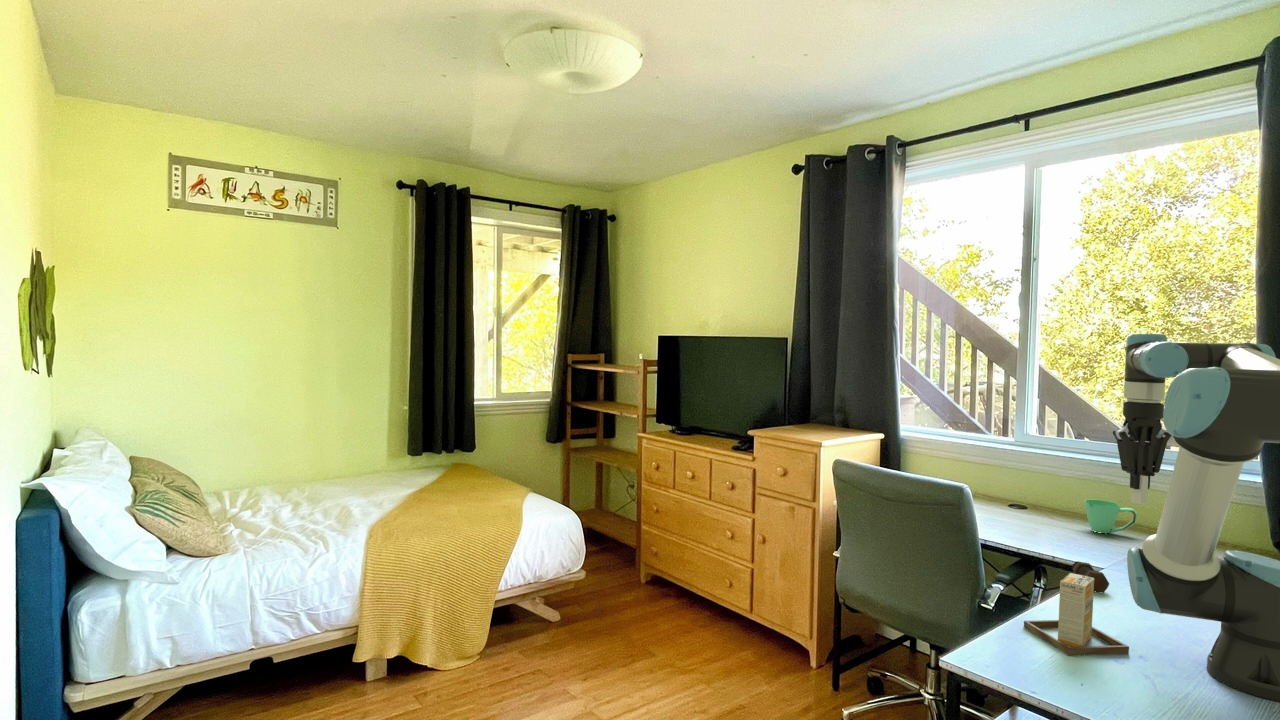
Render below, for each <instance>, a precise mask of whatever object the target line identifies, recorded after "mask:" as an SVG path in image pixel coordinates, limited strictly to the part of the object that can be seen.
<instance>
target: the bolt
mask: <svg viewBox="0 0 1280 720" xmlns="http://www.w3.org/2000/svg"><path fill="white" fill-rule="evenodd" d="M1072 572H1073V574H1078V575H1083V576H1087V577H1092V578H1094V591H1096V592H1095V593H1098V592H1103V593H1105V592H1106V590H1107V589H1108V588H1109V586H1110V583H1109V581H1108V579H1107V577H1106V575H1105V574H1104V573H1103V572H1102V571H1095V570H1094V568H1093V567H1092V565H1091V564H1090V563H1088V562H1082V561H1074V563H1072Z"/></svg>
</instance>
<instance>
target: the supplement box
mask: <svg viewBox="0 0 1280 720" xmlns="http://www.w3.org/2000/svg"><path fill="white" fill-rule="evenodd" d="M1094 594H1095V592H1094V578H1092V577H1087V576H1083V575H1078V574H1075V573H1074V572H1073V573H1072V572H1070V573H1068V574H1067V575H1065V577H1063V578H1062V579H1061V580H1060V581H1059V603H1058V605H1059V606H1058V620H1059V623H1058V628H1057V640H1059V641H1061V642H1062V643H1064V644H1065V645H1067V646H1069V647H1085V646H1086V644H1087V643H1088V642H1089V640H1090V639H1092V635H1091V634H1092V627H1093V613H1094V612H1093V611H1094Z"/></svg>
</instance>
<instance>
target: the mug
mask: <svg viewBox="0 0 1280 720" xmlns="http://www.w3.org/2000/svg"><path fill="white" fill-rule="evenodd" d="M1084 507H1085V511H1086V516H1087V521H1088V523H1089V526H1090V529H1091V531H1092V530H1094V531H1096V532H1101V533H1109V534H1110V533H1116V532H1121V531H1125V530H1127V529H1128V528H1130V527H1132V526H1133V525H1135V524H1136V522H1137V518H1138V514H1139V513H1138V512H1137V511H1136V510H1135V509H1134V508H1131V507H1121V506H1120V503H1117V502H1114V501H1109V500H1103V499H1102V500H1101V499H1092V498H1091V499H1090V498H1089V499H1085V500H1084ZM1125 512H1126V513H1132V520H1130V521H1129V522H1128V523H1126V524H1125V525H1124V526H1121V527H1120V526H1119V527H1115V528H1114V525H1115V524H1116V521H1117V519H1118V515H1119V514H1118V513H1125Z"/></svg>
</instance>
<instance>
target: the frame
mask: <svg viewBox="0 0 1280 720" xmlns="http://www.w3.org/2000/svg"><path fill="white" fill-rule="evenodd" d="M1058 623H1059V619H1049V620H1047V619H1043V620H1023V628H1024V629H1025V630H1027V631H1028V632H1030V633H1032V634H1034V635H1035V636H1037V637H1038V638H1040V639H1041V640H1043V641H1045V642H1046V643H1047V644H1049V645H1051V646H1053V647H1054V648H1055V649H1057V650H1059V651H1060V652H1062V653H1063V654H1065V655H1067V656H1068V657H1069V656H1074V657H1077V656H1078V657H1079V656H1102V655H1103V656H1106V655H1107V656H1108V655H1129V654H1130V646H1129V645H1127V644H1125V643H1124V642H1121V641H1119V640H1118V639H1116V638H1114V637H1113V636H1110V635H1109V634H1107V633H1105V632H1103V631H1102V630H1099V629H1097V628H1096V627H1094V626H1092V634H1091V636H1093V637H1095V638H1097V639H1098V640H1100V639H1101V640H1100V641H1103V642H1104V643H1106V644H1107V643H1108V644H1107V645H1093V646H1092V645H1090V646H1086V645H1085V646H1084V647H1073V646H1070V645H1066V644H1064V643H1062V642H1061V641H1059V640H1058V638H1056V637H1054V636H1052V635H1051V634H1049V633H1047V632H1046V631H1044V630H1043V629H1058Z"/></svg>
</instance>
